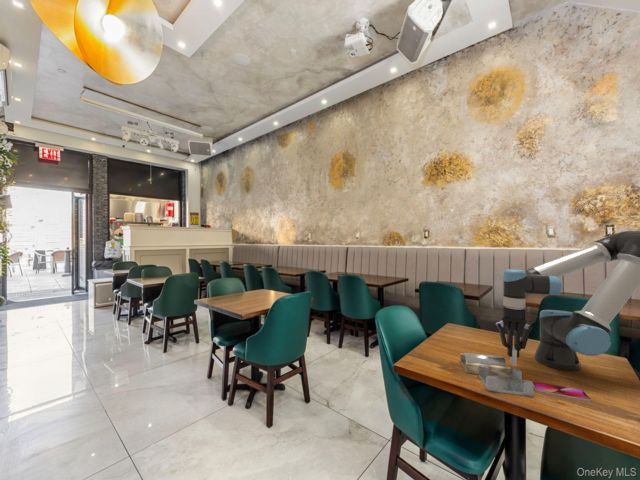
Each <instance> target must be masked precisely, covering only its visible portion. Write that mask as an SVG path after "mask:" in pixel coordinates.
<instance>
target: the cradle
mask: <svg viewBox="0 0 640 480" xmlns="http://www.w3.org/2000/svg"><path fill="white" fill-rule="evenodd" d="M522 373H523V372H522V370H521V369H519V368H511V367H510V377H504V376H495V375H489V367H488V366H485V365H479V374H478V377H479V378H480V380H481V382H482V383H483V385H484V387H485V388H486V390H487V391H488V392H494V393H504V394H508V395H511V394H512V395H518V396H523V397H524V396H525V397H532V398H533V397H534V386H533V383H532V381H531V380H528V379H527V380H526V379H523V378H522V376H523V375H522Z"/></svg>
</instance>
